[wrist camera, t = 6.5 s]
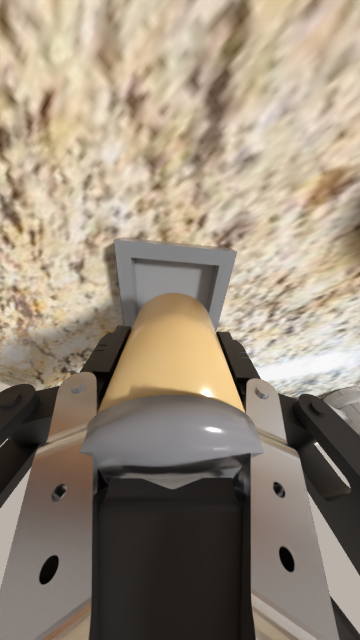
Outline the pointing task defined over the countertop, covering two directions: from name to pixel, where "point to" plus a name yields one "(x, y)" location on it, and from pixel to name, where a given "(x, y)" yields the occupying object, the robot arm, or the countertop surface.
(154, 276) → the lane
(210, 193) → the countertop surface
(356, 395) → the mug
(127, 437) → the jar
